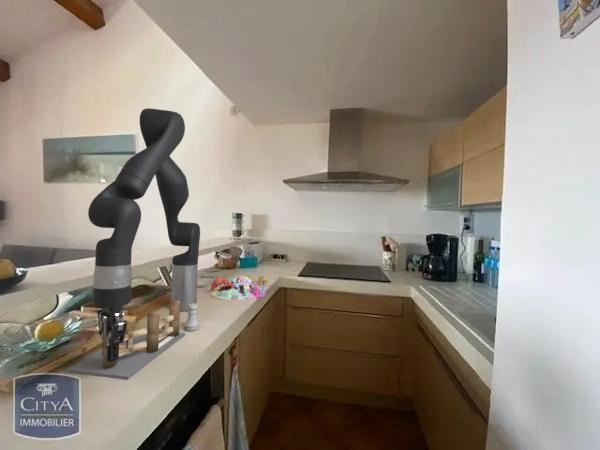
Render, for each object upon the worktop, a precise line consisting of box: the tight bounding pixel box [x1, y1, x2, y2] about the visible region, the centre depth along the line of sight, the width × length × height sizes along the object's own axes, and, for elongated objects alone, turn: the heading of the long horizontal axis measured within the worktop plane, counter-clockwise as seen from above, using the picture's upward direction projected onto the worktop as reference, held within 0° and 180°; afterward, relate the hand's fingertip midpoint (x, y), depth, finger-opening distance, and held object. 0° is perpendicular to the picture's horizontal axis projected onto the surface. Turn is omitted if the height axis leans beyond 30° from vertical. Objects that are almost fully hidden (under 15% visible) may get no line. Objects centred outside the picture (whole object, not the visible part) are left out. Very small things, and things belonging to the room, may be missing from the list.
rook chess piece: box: [184, 303, 200, 332], centre depth 91 cm, size 4×4×8 cm
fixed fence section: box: [146, 300, 181, 353], centre depth 79 cm, size 13×3×10 cm, turn 173°
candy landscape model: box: [210, 274, 269, 302], centre depth 134 cm, size 25×24×9 cm
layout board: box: [66, 328, 186, 380], centre depth 75 cm, size 24×15×1 cm, turn 173°
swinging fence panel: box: [102, 327, 147, 368], centre depth 69 cm, size 10×3×9 cm, turn 146°
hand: (110, 357), depth 66 cm, fingers closed on swinging fence panel, 3 cm apart
